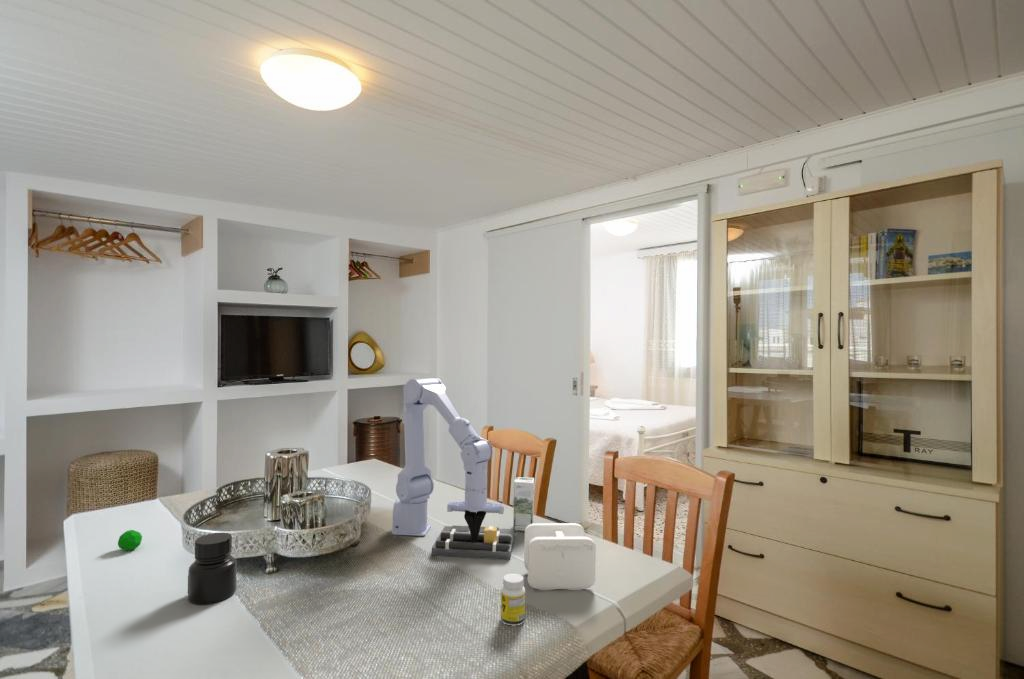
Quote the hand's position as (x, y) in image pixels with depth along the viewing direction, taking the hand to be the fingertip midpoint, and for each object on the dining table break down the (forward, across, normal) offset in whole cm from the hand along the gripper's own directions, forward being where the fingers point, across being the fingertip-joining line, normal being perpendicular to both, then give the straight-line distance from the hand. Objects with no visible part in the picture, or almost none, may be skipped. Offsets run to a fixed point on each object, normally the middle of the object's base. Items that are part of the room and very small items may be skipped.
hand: (475, 540), depth 135 cm
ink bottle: (+3, -52, -29) cm, 59 cm away
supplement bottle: (+3, +12, -32) cm, 35 cm away
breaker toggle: (+1, +4, 0) cm, 4 cm away
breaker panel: (+3, 0, +4) cm, 6 cm away
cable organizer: (+3, +21, -14) cm, 26 cm away
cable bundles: (+1, 0, +1) cm, 1 cm away
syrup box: (+3, +12, +19) cm, 22 cm away
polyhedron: (+3, -88, -9) cm, 88 cm away
